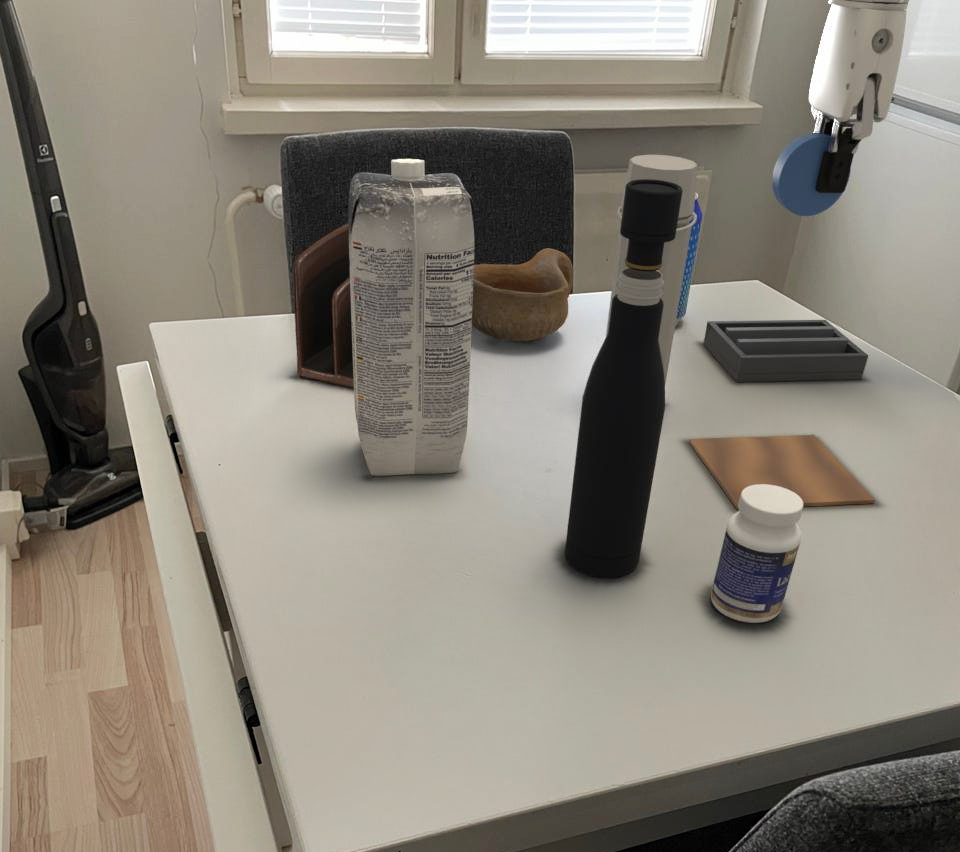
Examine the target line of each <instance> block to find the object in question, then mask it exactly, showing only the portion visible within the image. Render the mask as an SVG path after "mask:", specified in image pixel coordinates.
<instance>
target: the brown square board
mask: <svg viewBox="0 0 960 852" xmlns="http://www.w3.org/2000/svg"><path fill="white" fill-rule="evenodd" d="M688 442H689V444H690V446H691V447H692V448H693V450H694V452H695V453H696V454H697V455H698V457H699V459H700V460H701V461H702V462H703V464H704V465H705V467H706V468H707V470H708V471H709V473H710V474H711V475H712V477H713V478H714V479H715V481H716V482H717V484H718V485H719V486H720V488H721V489H722V491H723V493H724V494H725V495H726V496H727V498H728V499H729V500H730V502H731V503H732V505H733V506H734V508H735V509H736V510H739V509H738V503H739V499H740V496H741V493H742V491H743V490H744V489H745V488H746V487H748V486H751V485H758V484H768V485H775V486H779V487H783V488H786V489H788V490H790V491H792V492H794V493H796V494H797V495H798V496H799V497H800V498H801V499H802V501H803V507H824V506H849V505H867V504H868V505H869V504H870V505H871V504H875V502H876V499H875V498H874V497H873V496H872V495H871V494H870V492H868V490H867V489H866V488H865V487H864V486H863V484H861V483H860V482H859V481H858V479H856V478H855V477H854V475H853V474H851V472H850V471H849V470H848V469H847V468H846V467H845V466H844V465H843V464H842V463H841V462H840V461H839V460H838V458H836V457H835V455H833V453H832V452H831V451H830V450H829V449H828V448H827V447H826V446H825V445H824V444H823V442H822V441H820V440H819V438H818V437H817V436H816V435H815V434H804V435H802V434H801V435H800V434H799V435H773V436H772V435H771V436H769V435H768V436H740V437H708V438H689V439H688Z"/></svg>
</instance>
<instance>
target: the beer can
mask: <svg viewBox="0 0 960 852" xmlns="http://www.w3.org/2000/svg"><path fill="white" fill-rule="evenodd" d="M698 199H699V194H698V193H697V192H696V191H695V204H694V212H695V214H696V215H697V219H696V223H695V224H694V225H693V226H692V228H691V234H690V240H689V246H688V252H687V258H686V264H685V270H684V276H683V282H682V288H681V294H680V300H679V306H678V312H677V318H676V324H675V327H676V326H677V325H678V324H679V322H680V321H681V320H682V319H683V318H684V317H685V316H686V313H687V309H688V304H689V303H688V301H689V296H690V291H691V284H692V279H693V274H694V269H695V268H694V267H695V262H696V256H697V250H698V245H699V239H700V233H701V228H702V227H701V226H702V221H703V212H702V209H701V206H700V204H699V200H698ZM693 219H694V218H693ZM693 219H692V220H691V221H689V223H691V222H692V221H693Z"/></svg>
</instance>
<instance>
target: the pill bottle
mask: <svg viewBox="0 0 960 852" xmlns="http://www.w3.org/2000/svg"><path fill="white" fill-rule="evenodd" d="M803 509H804V506H803V501H802V499H801V498H800V497H799V496H798V495H797V494H796V493H794V492H792V491H790V490H788V489H786V488H783V487H779V486H775V485H768V484H758V485H751V486H748V487H746V488H745V489H744V490H743V491H742V493H741V496H740V499H739V503H738V509H737V510H738V511H737V512H735V513H734V514H733V515H732V516H731V517H730V518H729V519H728V521H727V523H726V527H725V532H724V537H723V539H722V545H721V549H720V554H719V558H718V561H717V566H716V570H715V574H714V579H713V583H712V586H711V591H710V599H711V603H712V605H713V606H714V608H715V609H716V610H718V611H719V613H721V614H722V615H724V616H726V617H727V618H730V619H733V620H735V621H738V622H743V623H749V624H750V623H751V624H759V623H765V622H768V621H771V620H773V619H774V618H776V617H777V616H778V615H779V614H780V612H781V610H782V607H783V604H784V601H785V596H786V595H787V594H786V593H787V591H788V587H789V583H790V580H791V576H792V572H793V569H794V565H795V563H796V559H797V556H798V552H799V549H800V544H801V541H802V532H801V529H800V527H799V525H798V524H797V523H799V521H800V520H801V517H802V514H803V511H804V510H803Z"/></svg>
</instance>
